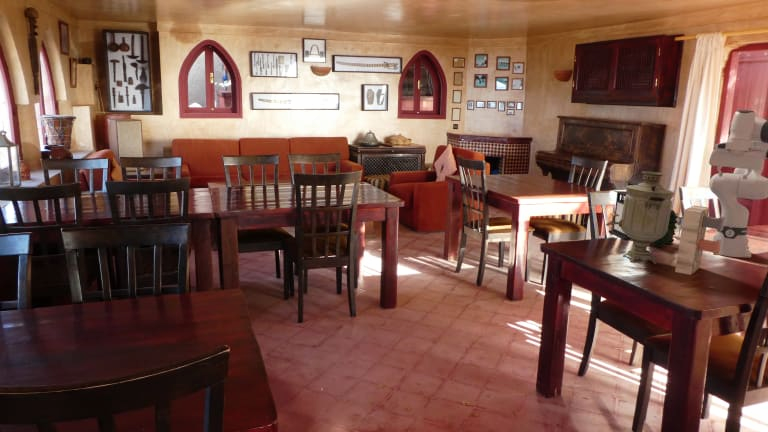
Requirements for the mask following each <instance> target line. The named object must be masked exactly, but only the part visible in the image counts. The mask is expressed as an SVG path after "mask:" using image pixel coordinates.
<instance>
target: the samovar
mask: <svg viewBox="0 0 768 432" xmlns="http://www.w3.org/2000/svg"><path fill="white" fill-rule="evenodd" d="M641 173H642V174H643V175H642V180H643V181H644V182H638V183H639V184H638V185H630V186H628V185H626V186H625V191H627V195H626V196H624V205H623V212H622V218H621V220H620V221H619V222H615V216H619V215H618V214H616V213H615V212H612V213H610V216H612V217H613V218H612V220H611V221H608V222H607V223H606V224H605V226H610V225H611V226H612V227H613V225H614V224H619V227H621V229H622V231H623V232H624V233H625V234H626V235H627V236H628V237H629V238H631V239H633V240H632V244H633V246H634V248H631V249H630V250H628V251H627V253H624V254H623V255H622V257H627V256H628V257H630V260H629V262H630V263H635V261H637V260H638V259H640V260H649V261H650V262H653V264H655V265H656V264H657V261H656V260H654V257H653V254H652V253H651V252H650V250H648V248H649V247H650V246H651V245H650V244H651V243H653V241H656V240H658V239H660V238H662V237H663V236H664V235H665V234H666V233H667V230H668V224H669V219H670V213H671V210H672V207H673V202H672V201H673V200H672V198H673V197H674V195H675V192H674V191H672V190H671V189H667V188H664V187H663V185H661V184H659V182H660V181H661V177H662V176H664V175H665V174H664V173H662V172H656V171H655V172H654V171H641Z"/></svg>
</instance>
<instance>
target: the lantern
mask: <svg viewBox="0 0 768 432" xmlns="http://www.w3.org/2000/svg"><path fill="white" fill-rule="evenodd" d="M640 174H643V173H642V172H639V173H635V174H634V175H633V176H632V178H634V177H635V176H638V175H640ZM632 178H630V179H629V181H628V182H626V183H627V186H630V185H638V184H639V183H640V182H631V181H632ZM613 192H615V193H616V199H615V208H614V213H616V214H618V215H619V216H615V222H619V221H620V220H621V218H622V212H623V205H624V199H625V196H626V195H627V191H626V190H625V191H623V190H619V191H618V190H614V191H613ZM608 233H609V234H611V235H613V236H615V237H618V238H619V239H621V240H623V241H633V239H631V238H629V237H628V236H627V235H626V234H625V233H624V232H623V231H622V229H621V227H619V224H614V225H613V226H612V230H610V229H609V230H608Z"/></svg>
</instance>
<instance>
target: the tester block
mask: <svg viewBox="0 0 768 432" xmlns="http://www.w3.org/2000/svg"><path fill="white" fill-rule="evenodd" d="M683 212H684V213H683V216H682V217H683V224H682V229H681V231H680V236H679V239H680V240H679V245H678V252H677V258H676V264H675V271H674V272H675V273H679V274H684V275H689V276H691V275H692V274H694V273H695V272H697V271H698V270H700V267H701V262H702V256H703V250H698V244H699V240H700V239H704V240H706V239H705V238H706V231H707V227H701V225H702V219H703V216H708V217H709V214H710V213H709V212H710V207H708V206H700V205H692V206H690V207H688V208H685V209H684V211H683Z"/></svg>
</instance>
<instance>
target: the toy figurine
mask: <svg viewBox="0 0 768 432" xmlns="http://www.w3.org/2000/svg"><path fill="white" fill-rule="evenodd" d="M675 213H676V212H675V210H674V209H671V213H670V219H669V224H668V230H667V233H666V234H665V235H664V236H663V237H662V238H660V239H658V240H656V241H652V245H653V247H654V248H658V249H660V248H662V247H663V245H665V246H666V247H669V246H672V245H673V242H674V241H675V239H674V238H673V237H674V236H675V235H676V232H675V230H676V229H678V227H677V225H676V223H677V221H676V218H677V216H676V215H675Z"/></svg>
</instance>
